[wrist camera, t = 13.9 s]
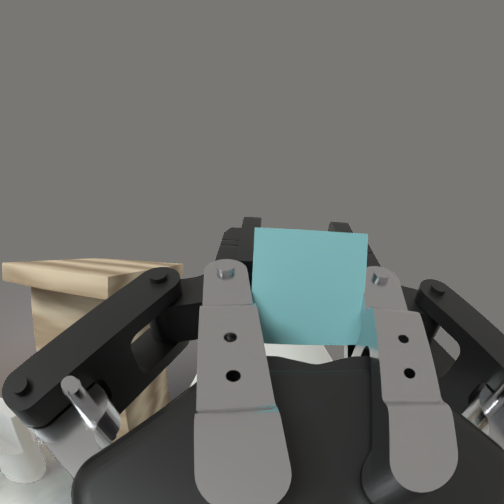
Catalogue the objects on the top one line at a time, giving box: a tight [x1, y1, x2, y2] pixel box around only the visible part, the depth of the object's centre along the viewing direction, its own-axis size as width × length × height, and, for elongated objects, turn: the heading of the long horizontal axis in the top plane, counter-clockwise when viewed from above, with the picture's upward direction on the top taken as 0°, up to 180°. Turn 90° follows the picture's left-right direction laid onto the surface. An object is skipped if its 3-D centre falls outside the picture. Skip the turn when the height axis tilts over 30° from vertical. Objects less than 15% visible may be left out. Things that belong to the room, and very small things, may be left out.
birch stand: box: [2, 258, 183, 480], centre depth 26 cm, size 18×12×32 cm, turn 177°
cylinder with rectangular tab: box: [0, 398, 47, 484], centre depth 22 cm, size 9×9×12 cm
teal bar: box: [251, 227, 368, 345], centre depth 19 cm, size 24×3×3 cm, turn 177°
